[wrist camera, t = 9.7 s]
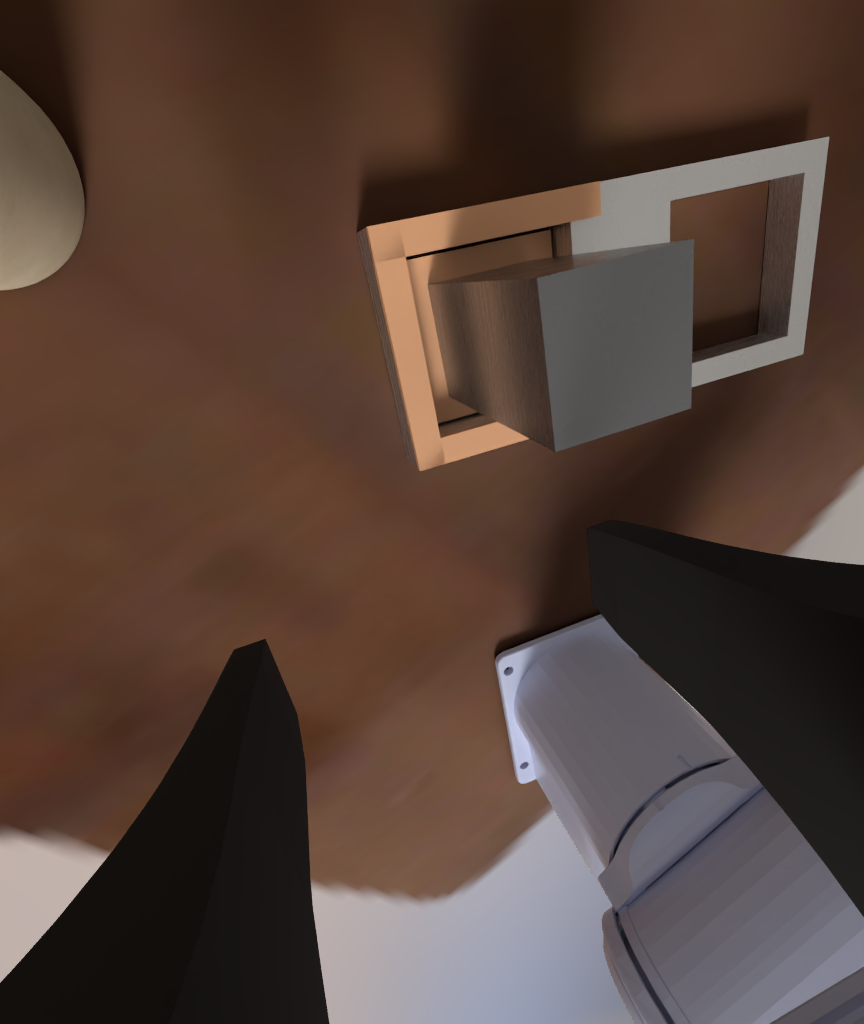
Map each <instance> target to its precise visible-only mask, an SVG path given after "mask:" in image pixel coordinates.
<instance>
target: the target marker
mask: <svg viewBox="0 0 864 1024" xmlns="http://www.w3.org/2000/svg"><path fill="white" fill-rule="evenodd" d="M600 215H601V194H600V181H597V182H592V183H587V184H582V185H577V186H572V187H566V188H561V189H556V190H551V191H546V192H541V193H536V194H531V195H526V196H521V197H516V198H510V199H505V200H500V201H495V202H490V203H485V204H480V205H475V206H470V207H465V208H460V209H454V210H449V211H444V212H439V213H434V214H429V215H424V216H419V217H414V218H409V219H404V220H398V221H393V222H388V223H383V224H378V225H373V226H368V227H366V228H365V229H366V234H367V238H368V243H369V248H370V252H371V257H372V261H373V266H374V271H375V275H376V280H377V284H378V289H379V293H380V298H381V303H382V307H383V312H384V316H385V321H386V325H387V330H388V335H389V339H390V344H391V348H392V353H393V357H394V362H395V367H396V371H397V376H398V380H399V385H400V390H401V394H402V399H403V403H404V408H405V412H406V417H407V422H408V426H409V431H410V435H411V440H412V444H413V449H414V454H415V458H416V463H417V467H418V470H419V471H423V470H426V469H429V468H433V467H436V466H439V465H443V464H446V463H449V462H453V461H456V460H459V459H463V458H466V457H469V456H473V455H476V454H480V453H483V452H486V451H490V450H493V449H496V448H500V447H503V446H506V445H510V444H513V443H516V442H520V441H523V440H526V439H529V438H527V437H525V436H524V435H522V434H520V433H518V432H516V431H514V430H512V429H510V428H508V427H506V426H504V425H502V424H501V423H499V422H497V421H495V420H493V421H489V422H486V423H482V424H479V425H475V426H472V427H468V428H465V429H461V430H458V431H454V432H451V433H447V434H444V435H440V433H439V427H438V423H441V422H445V421H449V420H452V419H456V418H459V417H463V416H466V415H470V414H473V413H477V412H478V411H476V410H474V409H472V408H470V407H468V406H466V405H464V404H462V403H460V402H458V401H457V400H455V399H453V398H451V397H449V394H448V389H447V384H446V379H445V373H444V368H443V363H442V358H441V353H440V348H439V342H438V337H437V332H436V327H435V322H434V316H433V311H432V306H431V301H430V296H429V290H428V285H429V284H433V283H437V282H442V281H446V280H450V279H454V278H458V277H462V276H466V275H471V274H475V273H479V272H483V271H487V270H491V269H495V268H500V267H504V266H508V265H512V264H516V263H520V262H524V261H529V260H535V259H543V258H550V257H553V256H552V243H551V231H550V230H546V231H542V232H537V233H532V234H528V235H523V236H518V237H513V238H509V239H504V240H499V241H495V242H490V243H485V244H481V245H476V246H471V247H467V248H462V249H457V250H452V251H448V252H443V253H438V254H434V255H429V256H424V257H420V258H415V259H410V260H406V256H411V255H416V254H421V253H425V252H430V251H435V250H440V249H444V248H449V247H454V246H459V245H463V244H468V243H473V242H477V241H482V240H487V239H492V238H496V237H501V236H506V235H511V234H515V233H520V232H525V231H529V230H534V229H539V228H544V227H548V226H553V225H558V224H563V223H567V222H572V221H577V220H582V219H586V218H591V217H596V216H600Z"/></svg>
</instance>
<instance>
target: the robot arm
mask: <svg viewBox="0 0 864 1024" xmlns="http://www.w3.org/2000/svg"><path fill="white" fill-rule="evenodd" d="M587 534H588V549H589V563H590V578H591V593H592V603H593V604H594V605H595V607H596V608H597V609H598V611H599V612H600V613H601V614H600V615H597V616H594V617H592V618H589V619H587V620H584V621H581V622H579V623H576V624H574V625H571V626H568V627H566V628H563V629H561V630H558V631H555V632H553V633H550V634H548V635H545V636H542V637H540V638H537V639H535V640H532V641H529V642H527V643H524V644H521V645H519V646H516V647H514V648H511V649H508V650H506V651H503V652H501V653H500V654H499V655H498V656H497V657H496V659H495V664H496V670H497V675H498V681H499V686H500V692H501V698H502V703H503V709H504V714H505V720H506V725H507V731H508V737H509V742H510V748H511V753H512V759H513V764H514V770H515V776H516V778H517V780H518V781H519V783H522V784H525V783H528V782H530V781H532V780H535V779H537V781H538V783H539V784H540V786H541V788H542V789H543V791H544V793H545V795H546V796H547V798H548V800H549V801H550V803H551V805H552V807H553V808H554V810H555V812H556V814H557V815H558V817H559V819H560V820H561V822H562V824H563V825H564V827H565V829H566V831H567V832H568V834H569V836H570V838H571V839H572V841H573V843H574V844H575V846H576V848H577V850H578V851H579V853H580V855H581V857H582V858H583V860H584V862H585V863H586V865H587V867H588V868H589V870H590V871H591V873H592V874H593V875H594V877H595V878H596V879H597V880H598V882H600V884H601V886H602V888H603V889H604V891H605V893H606V895H607V896H608V898H609V900H610V901H611V903H612V905H613V906H612V907H611V908H610V909H608V910H607V911H606V912H605V913H604V915H603V917H602V930H603V947H604V953H605V958H606V961H607V965H608V967H609V970H610V973H611V976H612V978H613V980H614V983H615V985H616V987H617V990H618V992H619V994H620V996H621V998H622V1000H623V1002H624V1004H625V1006H626V1008H627V1010H628V1012H629V1014H630V1015H631V1017H632V1019H633V1021H634V1023H635V1024H864V565H856V564H846V563H835V562H827V561H819V560H811V559H803V558H796V557H789V556H782V555H776V554H770V553H764V552H759V551H754V550H749V549H743V548H738V547H733V546H728V545H724V544H719V543H714V542H710V541H705V540H701V539H697V538H692V537H688V536H684V535H680V534H676V533H671V532H667V531H663V530H659V529H655V528H650V527H646V526H642V525H637V524H632V523H628V522H622V521H615V520H609V521H606V522H603V523H600V524H597V525H595V526H592V527H589V528H587ZM638 655H639V656H640V657H641V658H642V659H643V660H644V661H645V662H646V663H647V664H648V665H649V666H650V667H651V668H652V669H654V670H655V671H656V672H657V673H658V674H659V675H660V676H661V677H662V678H663V679H664V680H665V681H666V682H667V683H668V684H669V685H670V686H672V687H673V688H674V689H675V690H676V691H677V692H678V693H679V694H680V695H681V696H682V697H683V698H684V699H685V700H686V701H687V702H689V703H690V704H691V705H692V706H693V707H694V708H695V709H696V710H697V711H698V712H699V713H700V714H701V715H702V716H703V717H704V718H705V719H706V720H707V721H708V722H709V723H708V722H707V721H706V720H705V719H703V718H702V717H701V716H700V715H699V714H698V713H697V712H696V711H695V710H694V709H693V708H692V707H691V706H690V705H689V704H687V702H685V701H684V700H683V699H682V698H681V697H680V696H679V695H678V694H677V693H676V692H675V691H674V690H673V689H672V688H671V687H670V686H669V685H667V684H666V683H665V682H664V681H663V680H662V679H661V678H660V677H659V676H658V675H657V674H656V673H655V672H654V671H653V670H652V669H651V668H649V667H648V666H647V665H646V664H645V663H644V662H643V661H642V660H641V659H640V658H639V657H638ZM507 667H509V668H508V669H507V670H505V669H506V668H507ZM0 1024H329V1019H328V1012H327V1005H326V998H325V992H324V985H323V978H322V971H321V965H320V958H319V950H318V942H317V935H316V929H315V920H314V913H313V905H312V893H311V881H310V861H309V837H308V814H307V791H306V771H305V758H304V752H303V745H302V739H301V733H300V728H299V722H298V716H297V712H296V710H295V708H294V705H293V703H292V701H291V698H290V696H289V693H288V691H287V689H286V686H285V684H284V682H283V679H282V677H281V675H280V672H279V670H278V667H277V665H276V663H275V660H274V658H273V656H272V653H271V651H270V649H269V646H268V644H267V641H266V639H264V640H261V641H258V642H255V643H252V644H249V645H246V646H243V647H240V648H237V649H235V650H234V651H233V653H232V654H231V656H230V658H229V660H228V662H227V664H226V666H225V668H224V670H223V672H222V674H221V676H220V678H219V680H218V682H217V684H216V686H215V688H214V690H213V692H212V694H211V695H210V697H209V699H208V701H207V703H206V705H205V707H204V709H203V711H202V713H201V714H200V716H199V718H198V720H197V722H196V724H195V725H194V727H193V729H192V731H191V733H190V735H189V736H188V738H187V740H186V742H185V743H184V745H183V747H182V749H181V750H180V752H179V753H178V755H177V757H176V758H175V760H174V762H173V763H172V765H171V767H170V768H169V770H168V772H167V773H166V775H165V777H164V778H163V780H162V781H161V783H160V785H159V786H158V788H157V789H156V791H155V792H154V794H153V795H152V797H151V798H150V800H149V801H148V803H147V804H146V806H145V807H144V809H143V810H142V811H141V813H140V814H139V816H138V817H137V818H136V820H135V821H134V822H133V824H132V825H131V827H130V828H129V829H128V831H127V832H126V834H125V835H124V836H123V838H122V839H121V840H120V842H119V843H118V844H117V846H116V847H115V848H114V850H113V851H112V852H111V854H110V855H109V856H108V857H107V859H106V860H105V861H104V862H103V864H102V865H101V866H100V867H99V869H98V870H97V871H96V872H95V874H94V875H93V876H92V877H91V878H90V880H89V881H88V882H87V883H86V885H85V886H84V887H83V888H82V889H81V891H80V892H79V893H78V894H77V896H76V897H75V898H74V899H73V901H72V902H71V903H70V904H69V905H68V907H67V908H66V909H65V910H64V912H63V913H62V914H61V915H60V917H59V918H58V919H57V920H56V921H55V922H54V924H53V925H52V926H51V927H50V928H49V929H48V930H47V932H46V933H45V934H44V935H43V936H42V937H41V938H40V940H39V941H38V942H37V943H36V944H35V945H34V946H33V948H32V949H31V950H30V951H29V952H28V953H27V954H26V955H25V957H24V958H23V959H22V960H21V961H20V962H19V963H18V964H17V965H16V966H15V968H14V969H13V970H12V971H11V972H10V973H9V974H8V975H7V976H6V977H5V978H4V979H3V981H2V982H1V983H0Z"/></svg>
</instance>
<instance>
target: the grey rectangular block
mask: <svg viewBox="0 0 864 1024" xmlns="http://www.w3.org/2000/svg"><path fill="white" fill-rule="evenodd" d="M693 276H694V239H690V240H682V241H675V242H667V243H659V244H651V245H643V246H636V247H628V248H620V249H612V250H605V251H597V252H589V253H581V254H574V255H566V256H558V257H550V258H543V259H535V260H529V261H524V262H520V263H516V264H512V265H508V266H504V267H500V268H495V269H491V270H487V271H483V272H479V273H475V274H471V275H466V276H462V277H458V278H454V279H450V280H446V281H442V282H437V283H433V284H429V285H428V290H429V296H430V301H431V306H432V311H433V316H434V322H435V327H436V332H437V337H438V342H439V348H440V353H441V358H442V363H443V368H444V373H445V379H446V384H447V389H448V394H449V397H451V398H453V399H455V400H457V401H458V402H460V403H462V404H464V405H466V406H468V407H470V408H472V409H474V410H476V411H478V412H480V413H481V414H483V415H485V416H487V417H489V418H491V419H493V420H495V421H497V422H499V423H501V424H502V425H504V426H506V427H508V428H510V429H512V430H514V431H516V432H518V433H520V434H522V435H524V436H525V437H527V438H529V439H531V440H533V441H535V442H537V443H539V444H541V445H543V446H545V447H547V448H548V449H550V450H552V451H554V452H558V451H561V450H564V449H567V448H570V447H573V446H576V445H579V444H582V443H585V442H589V441H592V440H595V439H598V438H601V437H604V436H607V435H610V434H613V433H616V432H620V431H623V430H626V429H629V428H632V427H635V426H638V425H641V424H644V423H647V422H651V421H654V420H657V419H660V418H663V417H666V416H669V415H672V414H675V413H678V412H682V411H685V410H688V409H691V395H692V335H693Z"/></svg>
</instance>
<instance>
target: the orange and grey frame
mask: <svg viewBox="0 0 864 1024" xmlns="http://www.w3.org/2000/svg"><path fill="white" fill-rule="evenodd" d="M828 144H829V137H824V138H819V139H814V140H809V141H804V142H799V143H794V144H789V145H784V146H779V147H774V148H768V149H763V150H758V151H753V152H748V153H743V154H738V155H733V156H728V157H723V158H718V159H713V160H707V161H702V162H697V163H692V164H687V165H682V166H677V167H672V168H667V169H662V170H657V171H652V172H646V173H641V174H636V175H631V176H626V177H621V178H616V179H611V180H606V181H601V182H600V194H601V215H600V216H596V217H591V218H586V219H582V220H577V221H572V222H567V223H563V224H558V225H553V226H548V227H549V230H550V231H551V243H552V256H553V257H558V256H566V255H574V254H581V253H589V252H597V251H605V250H612V249H620V248H628V247H636V246H643V245H651V244H659V243H667V242H670V201H674V200H678V199H683V198H688V197H693V196H697V195H702V194H707V193H711V192H716V191H721V190H726V189H730V188H735V187H740V186H745V185H749V184H754V183H759V182H763V181H768V180H770V185H769V198H768V210H767V223H766V235H765V247H764V260H763V272H762V284H761V297H760V309H759V321H758V334H755V335H751V336H748V337H744V338H741V339H737V340H734V341H730V342H726V343H723V344H719V345H716V346H712V347H709V348H705V349H702V350H698V351H695V352H692V387H695V386H698V385H701V384H705V383H708V382H712V381H715V380H718V379H722V378H725V377H728V376H732V375H735V374H738V373H742V372H745V371H749V370H752V369H755V368H759V367H762V366H765V365H769V364H772V363H775V362H779V361H782V360H786V359H789V358H792V357H796V356H799V355H802V354H803V352H804V344H805V335H806V327H807V319H808V310H809V302H810V294H811V285H812V277H813V269H814V260H815V252H816V244H817V235H818V227H819V219H820V210H821V202H822V194H823V185H824V177H825V169H826V160H827V152H828ZM544 228H546V227H544ZM539 229H541V228H539ZM534 230H537V229H534ZM529 231H532V230H529ZM525 232H527V231H525ZM520 233H522V232H520ZM515 234H518V233H515ZM511 235H513V234H511ZM506 236H508V235H506ZM357 237H358V241H359V245H360V250H361V254H362V259H363V263H364V268H365V272H366V276H367V281H368V285H369V290H370V294H371V299H372V303H373V307H374V312H375V316H376V321H377V325H378V330H379V334H380V338H381V343H382V347H383V352H384V356H385V361H386V365H387V370H388V374H389V378H390V383H391V387H392V392H393V396H394V401H395V405H396V409H397V414H398V418H399V423H400V427H401V432H402V436H403V440H404V445H405V449H406V454H407V458H408V459H409V460H410V461H411V462H412V463H413V464H414V465H415V466H416V467H417V463H416V458H415V454H414V449H413V444H412V440H411V435H410V431H409V426H408V422H407V417H406V412H405V408H404V403H403V399H402V394H401V390H400V385H399V380H398V376H397V371H396V367H395V362H394V357H393V353H392V348H391V344H390V339H389V335H388V330H387V325H386V321H385V316H384V312H383V307H382V303H381V298H380V293H379V289H378V284H377V280H376V275H375V271H374V266H373V261H372V257H371V252H370V248H369V243H368V238H367V234H366V229H365V228H364V229H362V230H361V231H359V232H358V233H357ZM501 237H503V236H501ZM496 238H499V237H496ZM492 239H494V238H492ZM487 240H489V239H487ZM482 241H485V240H482ZM477 242H480V241H477ZM473 243H475V242H473ZM468 244H470V243H468ZM463 245H466V244H463ZM459 246H461V245H459ZM454 247H456V246H454ZM449 248H451V247H449ZM444 249H447V248H444ZM440 250H442V249H440ZM435 251H437V250H435ZM430 252H433V251H430ZM425 253H428V252H425ZM421 254H423V253H421ZM416 255H418V254H416ZM411 256H414V255H411ZM406 257H409V256H406ZM489 421H493V419H491V418H489V417H487V416H485V415H483V414H481V413H480V412H478V413H474V414H471V415H467V416H464V417H460V418H457V419H453V420H449V421H446V422H442V423H439V424H438V427H439V433H440V435H444V434H447V433H451V432H454V431H458V430H461V429H465V428H468V427H472V426H475V425H479V424H482V423H486V422H489ZM417 468H418V467H417Z"/></svg>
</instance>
